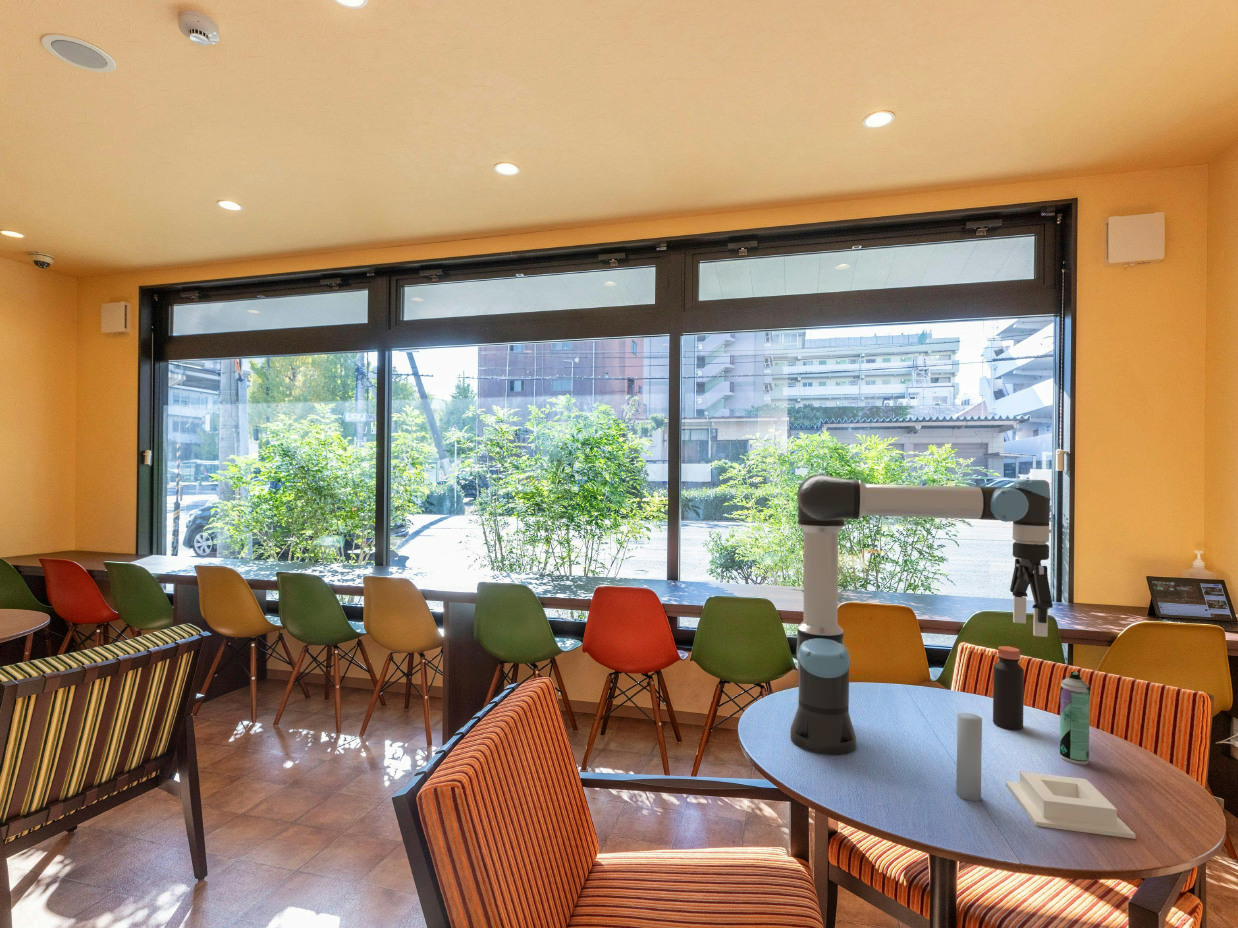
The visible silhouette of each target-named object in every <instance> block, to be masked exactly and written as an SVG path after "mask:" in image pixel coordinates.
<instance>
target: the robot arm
mask: <svg viewBox="0 0 1238 928" xmlns="http://www.w3.org/2000/svg"><path fill="white" fill-rule="evenodd" d="M796 498H797V499H796V500H797V505H798V506H797V508H798V509H797V512H798V514H797V518H798V519H797V521H798V522H797V524H798V526H799V527H800V529H802V530H803V618H802V619H803V621H802V622H801V623H800V624H798V626H797V640H796V641H797V644H796V648H795V649H796V650H795V653H796V654H795V655H796V656H795V657H796V660H797V666H798V667H797V668H798V703H797V704H798V706H797V709H796V713H795V715H794V716H793V720H792V723H791V727H790V740H791V741H792V743H793V744H794V745H796V746H798V747H800V748H801V749H803V750H806V751H807V752H808V751H809V752H813V753H816V754H822V755H831V756H832V755H833V756H834V755H835V756H837V755H846V754H850V753H852V752H853V751H855V749H856V748H857V736H856V732H855V729H854V726H853V722H852V720H851V716H850V711H849V709H850V707H849V704H850V701H849V700H850V667H851V659H850V652H849V649H848V648H847V647H846V646H845V644H844V643H845V642H844V638H845V637H844V632H845V631H844V629H843V628H842V627H841V626H840V625H839V623H838V612H839V611H838V606H839V605H838V601H839V599H838V595H839V594H838V593H839V589H838V586H839V585H838V584H839V583H838V582H839V580H838V579H839V577H838V576H839V572H838V571H839V567H838V565H839V564H838V563H839V532H840V531H841V530H842V529H843V528H845V520H860V519H861V518H863V517H864V516H872V517H873V516H875V517H876V516H877V517H902V518H903V517H905V518H907V517H908V518H930V519H931V518H932V519H933V518H934V519H958V520H960V519H961V520H962V519H963V520H983V521H984V520H985V521H1001V522H1004V523H1006V522H1007V523H1011V522H1012V539H1013V541H1014V542H1013V543H1012V557H1013V558H1015V559H1014V568H1013V569H1014V570H1013V573H1012V579H1011V583H1010V589H1009V591H1010V593H1012V596H1013V602H1012V604H1013V606H1012V608H1013V609H1012V610H1013V611H1012V612H1013V613H1012V623H1015V624H1027V597H1028V596H1029V595H1028V592H1027V591H1028V589H1029V588H1028V587H1030V590H1031V594H1032V597H1033V601H1034V604H1033V605H1032V609H1033V625H1032V627H1033V629H1032V630H1033V631H1032V632H1033V634H1032V635H1033V636H1034V637H1043V638H1045V637H1046V638H1048V635H1049V634H1048V632H1049V630H1048V629H1049V628H1048V627H1049V620H1048V619H1049V610H1050V609H1052V608H1053V607H1054V606H1053V601H1052V595H1051V588H1050V582H1049V578H1048V577H1049V575H1048V566H1047V565H1042V563H1041V562H1042V561H1047V560H1049V558H1050V545H1049V544H1048V543H1049V542H1050V534H1051V533H1052V529H1050V514H1051V513H1050V511H1051V508H1050V507H1051V500H1052V499H1051V489H1050V483H1049V482H1048V481H1047V480H1045V479H1024V478H1023V479H1015V480H1014V481H1013V485H1012V486H1007V487H1006V486H985V485H983V486H982V485H968V486H967V485H965V486H956V485H955V486H954V485H953V486H952V485H950V486H949V485H943V486H942V485H921V484H920V485H919V484H917V485H916V484H915V485H914V484H885V483H884V484H881V483H880V484H876V483H864V482H863V481H862V480H860V479H850V478H849V479H848V478H842V477H836V476H834V475H833V476H832V475H829V474H825V473H817V474H812V475H810V476H808V477H807V478H806V477H805V478H804V480H803V481H802V482H801V483H800V485H799V487H798V489H797V494H796Z"/></svg>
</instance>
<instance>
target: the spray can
mask: <svg viewBox="0 0 1238 928" xmlns="http://www.w3.org/2000/svg"><path fill="white" fill-rule="evenodd" d="M1080 675H1081V673H1080V672H1078V671H1070V675H1069V676H1067V678H1063V679H1062V680H1061V683H1060V715H1059V716H1060V718H1059V719H1060V720H1059V721H1060V722H1059V723H1060V725H1059V726H1060V727H1059V730H1060V731H1059V757H1060V759H1062V760H1064V761H1065V762H1068V763H1071V764H1075V765H1080V766H1081V765H1085V766H1086V765H1088V764H1090V710H1091V709H1090V707H1091V705H1090V704H1091V701H1090V700H1091V699H1090V698H1091V692H1090V690H1091V688H1090V684H1089V683H1087V682H1085V681H1084V679H1083V678H1082V677H1081V676H1080Z"/></svg>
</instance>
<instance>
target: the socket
mask: <svg viewBox="0 0 1238 928" xmlns="http://www.w3.org/2000/svg"><path fill="white" fill-rule="evenodd" d="M1005 787H1006V788H1007V789H1008V791H1010V793H1011V794H1012V796H1013V797H1014V799H1015V800H1016V801H1017V803H1018V804H1019V805H1020V806H1021V807H1022V810H1024V812H1025V814H1027V816H1028V818H1029V819H1030V820H1031V822H1033V824H1034V825H1035V827H1043V828H1048V829H1049V828H1050V829H1056V830H1057V829H1058V830H1064V831H1071V832H1072V831H1073V832H1081V833H1087V834H1088V833H1089V834H1096V835H1102V836H1110V837H1111V836H1112V837H1118V838H1126V839H1133V840H1135V839H1136V833H1135V832H1134V831H1132V830H1131V829H1130V828H1129V826H1127V824H1126V823H1124V822H1123V821H1122V820H1121V818H1119V817H1118V808H1116V807H1115V806H1114V805H1113V804H1112V803H1111V802H1110V801H1109V800H1108V799H1107V798H1106V797H1105V796H1104V795H1103V794H1102V793H1101V792H1100V791H1099V790H1098V789H1097V788H1096V787H1095V786H1094V785H1093V784H1092V783H1091V782H1090V781H1089V780H1087V778H1080V777H1070V776H1064V775H1054V774H1045V773H1038V772H1037V773H1036V772H1029V771H1019V782H1016V781H1008V780H1007V781H1006V780H1005Z"/></svg>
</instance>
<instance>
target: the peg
mask: <svg viewBox="0 0 1238 928" xmlns="http://www.w3.org/2000/svg"><path fill="white" fill-rule="evenodd" d="M956 716H957V720H956V721H957V722H956V723H957V724H956V725H957V728H956V729H957V731H956V781H955V782H956V786H955V787H956V790H955V791H956V795H957V797H959V798H960V799H962V800H965V801H970V802H978V801H979V802H980V801H981V800H982V750H983V749H982V748H983V747H982V745H983V736H982V735H983V718H982V717H981V716H979V715H977V714H974V713H969V712H959V713H957V715H956Z"/></svg>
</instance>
